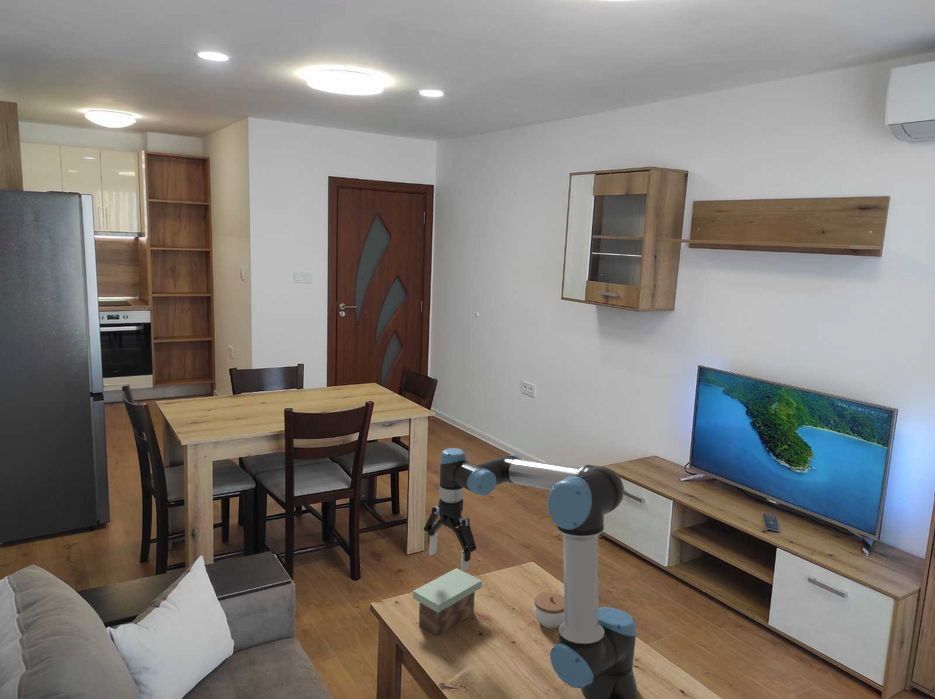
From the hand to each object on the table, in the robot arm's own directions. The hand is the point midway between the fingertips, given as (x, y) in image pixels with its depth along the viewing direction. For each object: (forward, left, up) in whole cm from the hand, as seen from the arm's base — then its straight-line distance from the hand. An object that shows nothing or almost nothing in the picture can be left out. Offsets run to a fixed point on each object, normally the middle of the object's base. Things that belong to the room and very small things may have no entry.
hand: (448, 561), depth 211 cm
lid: (0, 0, -11) cm, 11 cm away
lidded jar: (-24, -23, -21) cm, 39 cm away
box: (0, 0, -21) cm, 21 cm away
